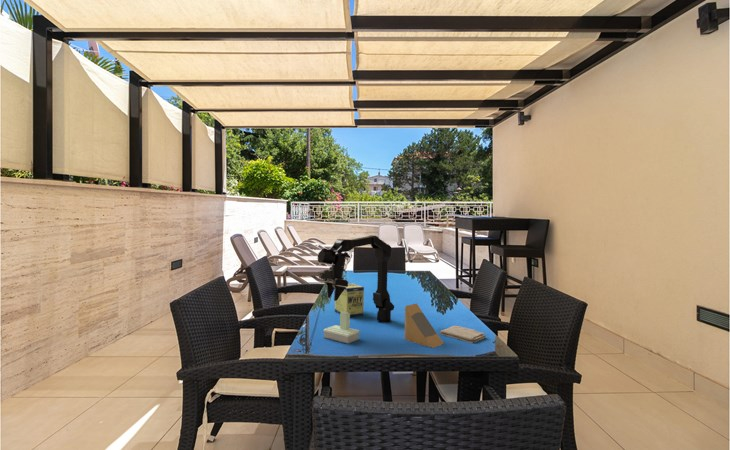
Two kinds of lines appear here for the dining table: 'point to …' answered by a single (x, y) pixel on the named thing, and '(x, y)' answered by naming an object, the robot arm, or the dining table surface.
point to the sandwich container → (419, 328)
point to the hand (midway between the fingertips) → (331, 299)
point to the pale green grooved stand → (343, 326)
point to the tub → (341, 337)
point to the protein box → (351, 300)
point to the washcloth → (463, 334)
